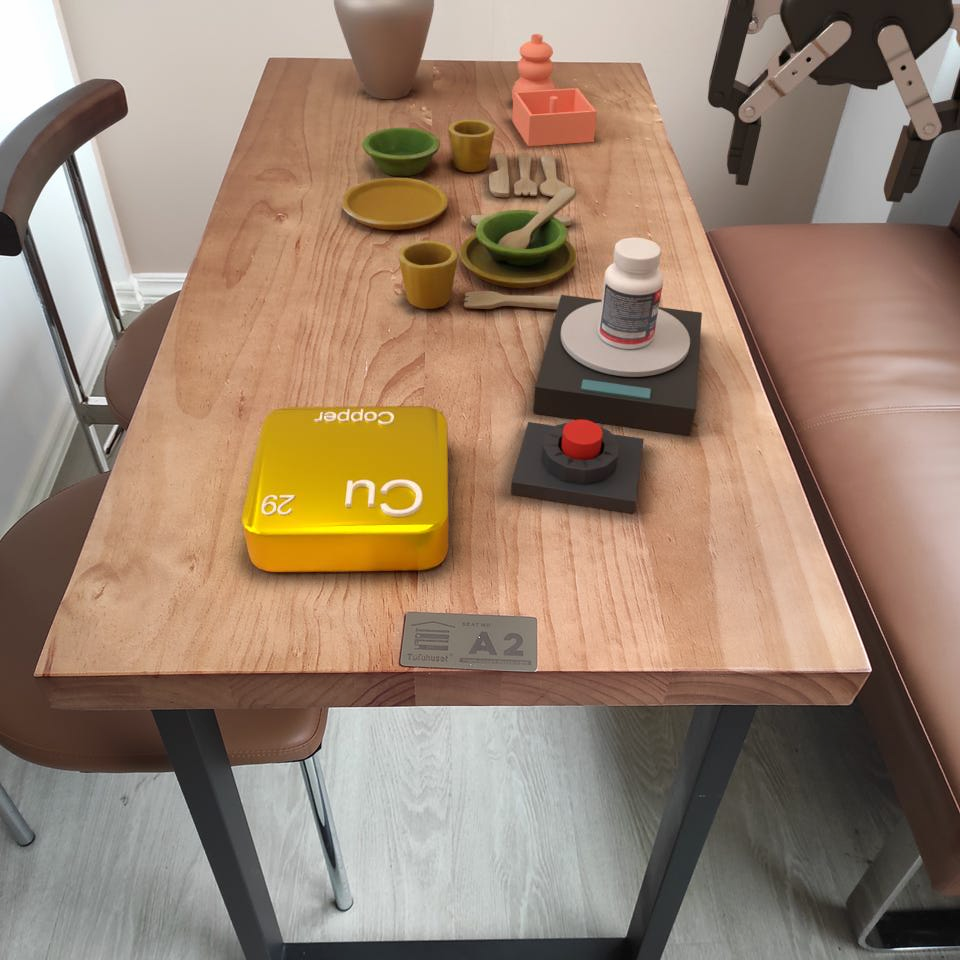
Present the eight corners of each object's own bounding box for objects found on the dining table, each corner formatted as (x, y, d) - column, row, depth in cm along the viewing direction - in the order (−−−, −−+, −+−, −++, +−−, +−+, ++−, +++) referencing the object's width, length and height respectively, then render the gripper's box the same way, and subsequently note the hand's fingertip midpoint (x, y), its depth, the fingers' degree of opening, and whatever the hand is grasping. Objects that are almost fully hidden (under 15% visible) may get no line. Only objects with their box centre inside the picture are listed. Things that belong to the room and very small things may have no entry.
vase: (424, 113, 136) (420, -83, 120) (329, 104, 138) (312, -89, 121) (443, 79, 147) (442, -105, 130) (355, 72, 149) (343, -111, 132)
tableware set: (585, 320, 95) (591, 265, 91) (314, 314, 95) (308, 259, 91) (562, 155, 126) (566, 108, 122) (357, 151, 126) (354, 103, 121)
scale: (696, 337, 93) (703, 305, 91) (690, 436, 82) (697, 401, 79) (558, 319, 95) (561, 287, 93) (533, 413, 84) (535, 379, 81)
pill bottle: (657, 351, 84) (672, 264, 79) (599, 350, 84) (610, 262, 79) (649, 320, 88) (664, 234, 82) (595, 318, 88) (605, 233, 82)
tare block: (641, 450, 80) (646, 423, 78) (633, 514, 74) (638, 486, 72) (527, 434, 81) (529, 406, 79) (510, 494, 76) (512, 466, 74)
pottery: (593, 141, 130) (601, 68, 123) (528, 146, 128) (532, 72, 121) (557, 95, 143) (562, 27, 136) (498, 99, 141) (500, 30, 134)
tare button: (602, 439, 77) (604, 422, 76) (598, 463, 75) (600, 446, 73) (564, 433, 77) (566, 416, 76) (558, 457, 75) (560, 440, 74)
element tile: (447, 443, 80) (447, 399, 77) (448, 572, 69) (448, 526, 66) (272, 444, 80) (264, 400, 76) (245, 575, 68) (235, 529, 65)
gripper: (751, -137, 42) (690, 203, 53) (1091, -118, 40) (954, 231, 51) (751, -162, 47) (695, 150, 58) (1049, -146, 45) (933, 175, 56)
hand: (815, 188), depth 54 cm, fingers open, 8 cm apart
